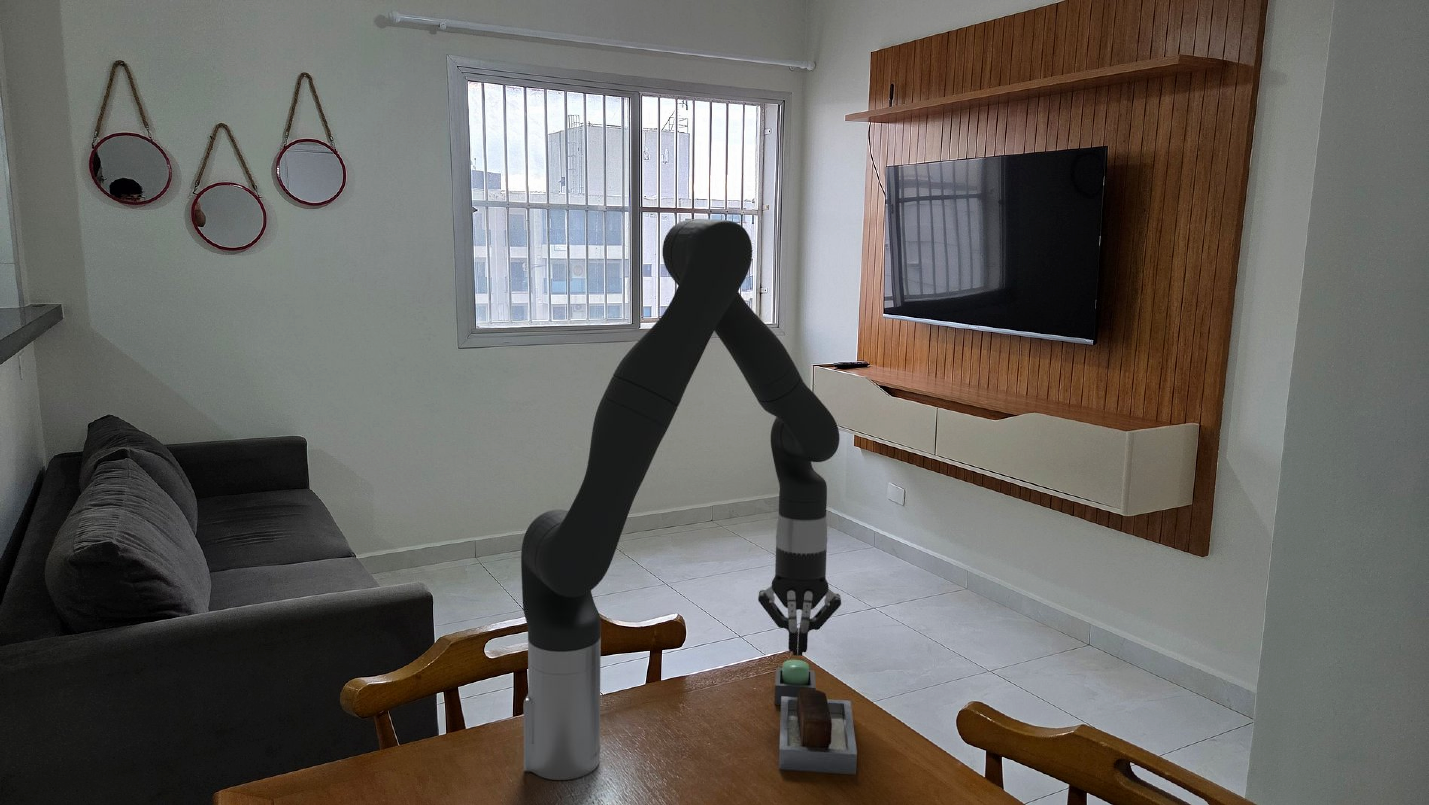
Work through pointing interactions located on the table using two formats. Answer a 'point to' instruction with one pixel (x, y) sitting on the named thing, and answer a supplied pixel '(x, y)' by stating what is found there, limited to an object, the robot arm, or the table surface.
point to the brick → (814, 719)
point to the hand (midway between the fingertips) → (797, 653)
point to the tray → (818, 759)
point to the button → (795, 672)
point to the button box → (790, 686)
